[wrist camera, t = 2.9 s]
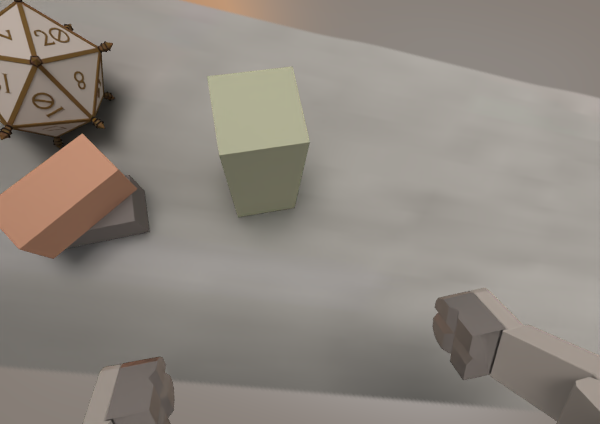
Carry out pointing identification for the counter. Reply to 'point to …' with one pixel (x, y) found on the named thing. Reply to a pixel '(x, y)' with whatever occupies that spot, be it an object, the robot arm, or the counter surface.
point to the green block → (260, 137)
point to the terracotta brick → (62, 199)
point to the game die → (47, 75)
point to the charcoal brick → (119, 220)
